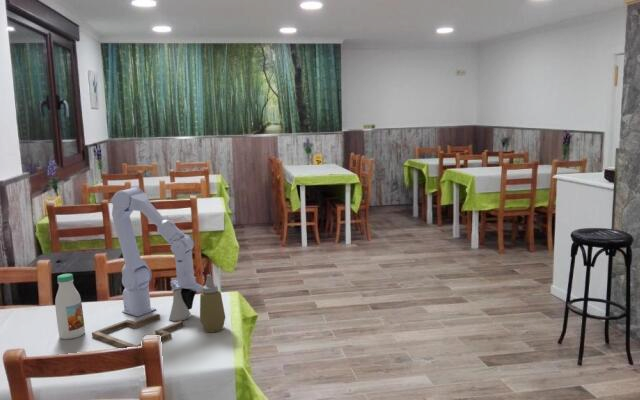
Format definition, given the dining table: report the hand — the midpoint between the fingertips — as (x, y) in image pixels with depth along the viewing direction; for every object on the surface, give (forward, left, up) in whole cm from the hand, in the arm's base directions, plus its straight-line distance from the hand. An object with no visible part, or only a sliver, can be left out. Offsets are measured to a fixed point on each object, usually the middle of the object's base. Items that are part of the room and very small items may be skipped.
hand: (188, 309), depth 192 cm
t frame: (0, -19, -2) cm, 19 cm away
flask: (0, -4, -2) cm, 4 cm away
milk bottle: (-19, -32, -2) cm, 37 cm away
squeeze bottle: (+18, -5, -2) cm, 19 cm away
